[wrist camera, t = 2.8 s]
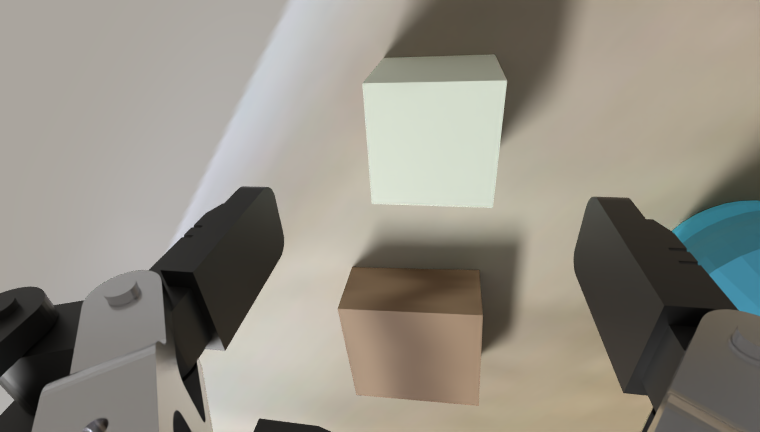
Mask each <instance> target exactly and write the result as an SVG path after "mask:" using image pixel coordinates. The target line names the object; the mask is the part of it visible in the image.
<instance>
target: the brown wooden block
mask: <svg viewBox="0 0 760 432" xmlns="http://www.w3.org/2000/svg"><path fill="white" fill-rule="evenodd" d="M338 312H339V317H340V322H341V326H342V331H343V335H344V340H345V344H346V349H347V354H348V358H349V363H350V367H351V372H352V376H353V381H354V386H355V390H356V395H364V396H375V397H386V398H398V399H409V400H420V401H431V402H443V403H454V404H465V405H476V406H479V385H480V365H481V344H482V323H483V311H482V298H481V286H480V274H479V270H452V269H409V268H366V267H352V269H351V272H350V275H349V278H348V281H347V284H346V286H345V289H344V292H343V295H342V298H341V301H340V304H339V306H338Z"/></svg>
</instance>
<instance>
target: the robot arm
mask: <svg viewBox="0 0 760 432" xmlns="http://www.w3.org/2000/svg"><path fill="white" fill-rule="evenodd" d="M283 247H284V235H283V230H282V226H281V221H280V217H279V213H278V208H277V204H276V199H275V195H274V193H273V191H272V189H271V188H269V187H240V188H239V189H238V190H237V191H236V192H235V193H234V194H233V195H232V196H231V197H230V198H229V199H228V200H227V201H226V202H225V203H224V204H221V205H220V206H218V207H216V208H214V209H213V210H211V211H209V212H207V213H206V214H205V215H204V216H203V217H202V218H201V219H200V220H199V221H198V222H197V223H196V224H195V225H194V228H191V229H190V230H189V231H188V232H187V233H186V234H185V235H184V237H182V238H181V239H180V240H179V241H178V242H177V243H176V244H175V245H174V246H173V247H172V248H171V249H170V250H169V251H168V252H167V253H166V254H165V255H164V256H162V258H160V260H158V262H156V263H155V264H154V266H152V267H151V269H149V270H138V271H131V272H127V273H124V274H121V275H118V276H116V277H114V278H111V279H109V280H107V281H106V282H104V283H102V284H101V285H99V286H98V287H96V288H95V289H94V290H93V291H92V292H91V293H90V294H89V295H88V296H87V297H86V298H85V300H84V301H78V302H72V303H65V304H59V305H53V304H52V303H51V301H50V300H49V298H48V297H47V295H46V294H45V293H44V291H43V290H42V289H40V288H37V287H22V288H17V289H12V290H9V291H6V292H3V293H0V385H1V386H2V387H3V388H4V389H5V390H6V391H7V392H8V394H9V395H10V396H11V397H12V398H13V399H14V401H13V403H12V404H11V405H10V406H9V407H8V408H7V409H6V410H5V411H4V412H3V413H2V414H1V415H0V432H213V429H212V423H211V417H210V411H209V405H208V399H207V393H206V387H205V381H204V375H203V370H202V365H201V363H200V360H199V357H200V355H201V354H202V352H203V351H204V349H210V350H220V351H225V350H226V349H227V347H228V345H229V343H230V342H231V340H232V338H233V337H234V335H235V333H236V332H237V330H238V328H239V327H240V325H241V323H242V321H243V320H244V318H245V316H246V315H247V313H248V311H249V310H250V308H251V306H252V305H253V303H254V301H255V300H256V298H257V296H258V294H259V293H260V291H261V289H262V288H263V286H264V284H265V283H266V281H267V279H268V278H269V276H270V274H271V273H272V271H273V269H274V267H275V266H276V264H277V262H278V261H279V259H280V257H281V255H282V252H283ZM574 270H575V274H576V277H577V279H578V282H579V284H580V287H581V289H582V292H583V294H584V297H585V299H586V301H587V304H588V306H589V309H590V311H591V314H592V316H593V319H594V321H595V324H596V326H597V329H598V331H599V334H600V336H601V339H602V341H603V344H604V346H605V349H606V351H607V354H608V356H609V358H610V361H611V363H612V366H613V368H614V371H615V373H616V376H617V378H618V381H619V383H620V386H621V388H622V391H623V393H628V394H638V395H648V397H649V399H650V401H651V403H652V405H653V408H652V409H651V411H650V413H649V415H648V417H647V419H646V421H645V423H644V425H643V427H642V429H641V432H760V316H757V315H755V314H751V313H747V312H743V311H739V310H738V309H737V308H736V306H735V305H734V304H733V303H732V302H731V300H730V299H729V298H728V297H727V296H726V294H725V293H724V292H723V291H722V290H721V288H720V287H719V286H718V285H717V284H716V283H715V281H714V280H713V279H712V278H711V277H710V275H709V274H708V273H707V272H706V271H705V269H704V268H703V267H702V266H701V265H698V261H697V260H696V259H695V257H694V256H693V255H692V254H691V253H690V252H687V248H686V247H685V246H684V244H683V243H682V242H681V241H680V240H679V238H678V237H677V236H676V235H675V234H674V233H673V232H672V231H670V230H668V229H667V228H665V227H664V226H662V225H661V224H659V223H657V222H656V221H654V220H650V219H645V217H644V216H643V215H642V214H641V212H640V211H639V210H638V208H637V207H636V206H635V205H634V203H633V202H632V201H631V200H630V199H629V198H618V197H592V198H591V199H590V200H589V201H588V203H587V206H586V210H585V213H584V217H583V221H582V225H581V228H580V232H579V236H578V240H577V243H576V247H575V251H574ZM254 432H331V431H328V430H326V429H324V428H321V427H319V426H313V425H305V424H297V423H290V422H282V421H274V420H266V419H259V420H258V423H257V425H256V427H255V430H254Z"/></svg>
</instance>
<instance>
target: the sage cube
mask: <svg viewBox="0 0 760 432" xmlns="http://www.w3.org/2000/svg"><path fill="white" fill-rule="evenodd" d="M362 84H363V97H364V110H365V123H366V136H367V148H368V161H369V174H370V187H371V200H372V204H394V205H424V206H453V207H483V208H493V202H494V193H495V184H496V175H497V166H498V157H499V148H500V139H501V131H502V122H503V113H504V104H505V95H506V86H507V79H506V77H505V75H504V73H503V71H502V69H501V67H500V65H499V62H498V60H497V58H496V56H495V54H493V55H461V56H428V57H396V58H383V59H382V60H381V62H380V63H379V64H378V65H377V66H376V68H375V69H374V70H373V71H372V72H371V74H370V75H369V76H368V77H367V78H366V80H365V81H364V82H363V83H362Z"/></svg>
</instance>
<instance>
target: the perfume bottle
mask: <svg viewBox="0 0 760 432" xmlns="http://www.w3.org/2000/svg"><path fill="white" fill-rule="evenodd" d="M672 232H673V233H674V234H675V235H676V236H677V237H678V238H679V240H680V241H681V242H682V243H683V244H684V246H685V247H686V248H687V252H690V253H691V254H692V255H693V256H694V257H695V259H696V260H697V261H698V265H701V266H702V267H703V268H704V269H705V271H706V272H707V273H708V274H709V275H710V277H711V278H712V279H713V280H714V281H715V283H716V284H717V285H718V286H719V287H720V288H721V290H722V291H723V292H724V293H725V294H726V296H727V297H728V298H729V299H730V300H731V302H732V303H733V304H734V305H735V306H736V308H737V309H738V310H739V311H743V312H747V313H751V314H755V315H757V316H760V201H758V200H751V201H737V202H731V203H725V204H722V205H718V206H715V207H712V208H709V209H707V210H704V211H702V212H700V213H698V214H695V215H694V216H692V217H690V218H689V219H687V220H686V221H684V222H682V223H681V224H680V225H679V226H677V227H676V228H675V229H674V230H673V231H672Z"/></svg>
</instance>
